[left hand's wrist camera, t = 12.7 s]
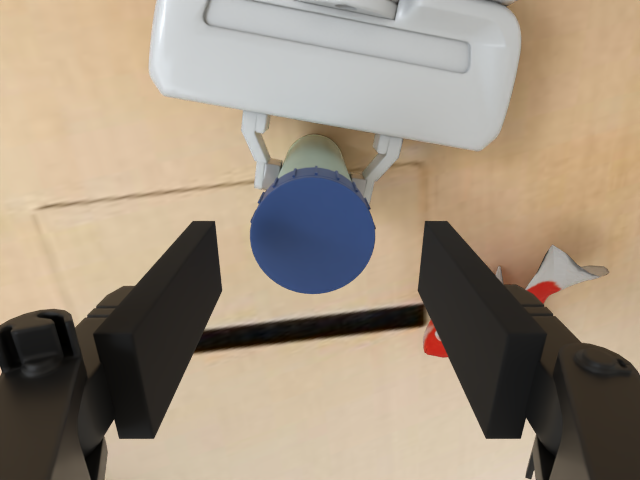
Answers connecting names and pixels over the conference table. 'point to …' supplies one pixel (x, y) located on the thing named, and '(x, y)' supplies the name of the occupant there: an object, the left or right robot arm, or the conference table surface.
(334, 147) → the green bottle
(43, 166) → the conference table surface
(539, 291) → the fish
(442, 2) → the right robot arm
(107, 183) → the conference table surface
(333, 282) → the lid
